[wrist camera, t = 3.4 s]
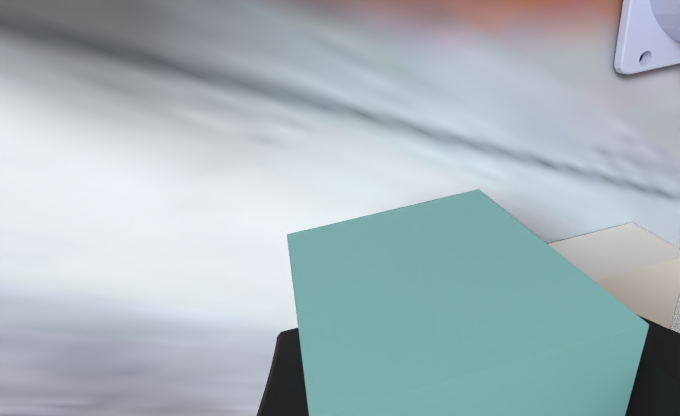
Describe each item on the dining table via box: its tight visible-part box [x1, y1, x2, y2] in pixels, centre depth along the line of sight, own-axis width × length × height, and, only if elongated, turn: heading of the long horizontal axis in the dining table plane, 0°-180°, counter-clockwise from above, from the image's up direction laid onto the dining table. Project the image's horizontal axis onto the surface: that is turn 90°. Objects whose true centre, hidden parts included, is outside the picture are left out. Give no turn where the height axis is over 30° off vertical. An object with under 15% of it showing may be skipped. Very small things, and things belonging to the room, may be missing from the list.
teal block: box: [287, 189, 649, 416], centre depth 9 cm, size 5×5×5 cm
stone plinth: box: [548, 223, 680, 329], centre depth 20 cm, size 9×9×3 cm
